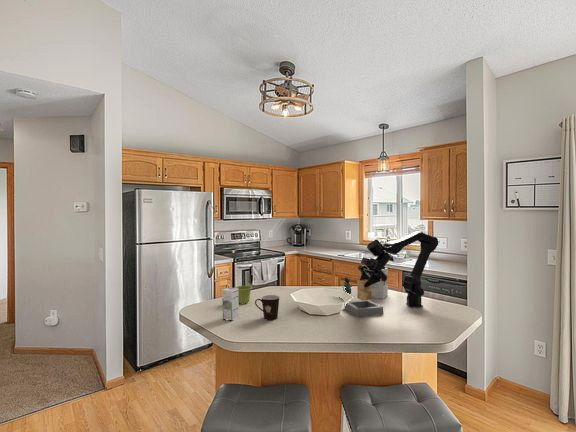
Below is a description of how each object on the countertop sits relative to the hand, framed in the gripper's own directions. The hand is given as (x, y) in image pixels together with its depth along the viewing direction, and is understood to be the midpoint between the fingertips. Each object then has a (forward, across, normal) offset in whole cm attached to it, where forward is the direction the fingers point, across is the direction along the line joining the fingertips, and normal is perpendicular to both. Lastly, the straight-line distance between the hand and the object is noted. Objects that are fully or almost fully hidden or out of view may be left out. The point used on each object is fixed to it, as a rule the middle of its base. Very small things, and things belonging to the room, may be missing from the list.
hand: (361, 285), depth 161 cm
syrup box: (+54, -14, -35) cm, 66 cm away
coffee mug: (+42, -10, -23) cm, 49 cm away
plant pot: (+46, -40, -27) cm, 67 cm away
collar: (+8, -2, +11) cm, 14 cm away
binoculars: (+5, -31, +15) cm, 35 cm away
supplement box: (-8, -23, +28) cm, 37 cm away
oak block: (+4, 0, +6) cm, 7 cm away
